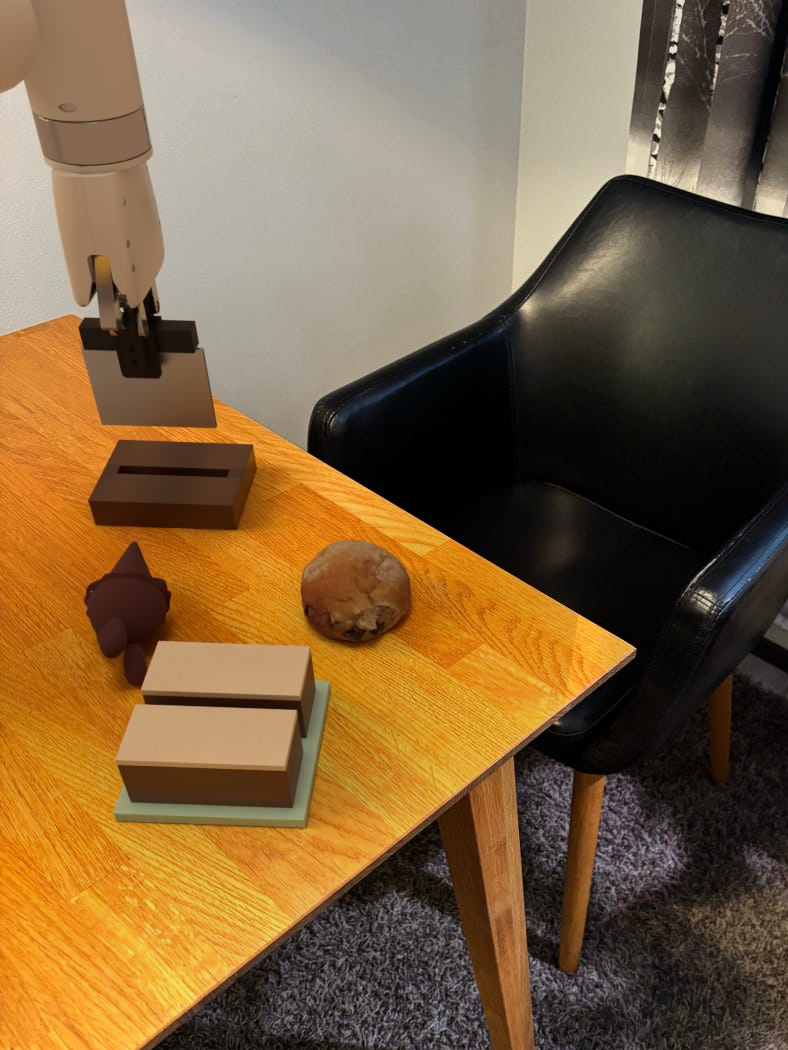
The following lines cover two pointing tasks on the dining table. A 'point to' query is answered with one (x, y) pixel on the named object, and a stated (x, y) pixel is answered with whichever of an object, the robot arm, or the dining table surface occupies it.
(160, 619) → the icecream
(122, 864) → the dining table surface
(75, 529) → the dining table surface
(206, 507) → the brown slotted block
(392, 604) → the bread roll
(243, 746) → the paired blocks on tray
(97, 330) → the beige black-topped panel
